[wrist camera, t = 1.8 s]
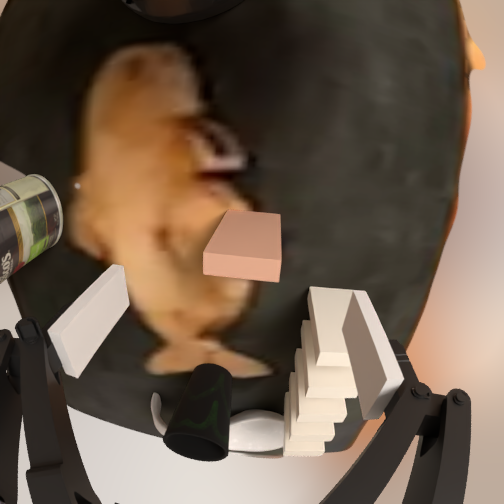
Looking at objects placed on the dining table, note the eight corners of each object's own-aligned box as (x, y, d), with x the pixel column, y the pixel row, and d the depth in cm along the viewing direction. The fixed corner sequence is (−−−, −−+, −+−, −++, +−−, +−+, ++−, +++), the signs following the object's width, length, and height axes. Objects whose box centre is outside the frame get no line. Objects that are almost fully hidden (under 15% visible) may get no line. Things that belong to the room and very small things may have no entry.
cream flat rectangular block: (285, 391, 38) (285, 450, 29) (319, 393, 37) (324, 451, 28) (284, 398, 38) (283, 455, 29) (317, 399, 38) (321, 456, 29)
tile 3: (296, 348, 34) (299, 414, 25) (335, 350, 34) (347, 414, 25) (294, 357, 35) (296, 421, 25) (332, 359, 34) (342, 422, 25)
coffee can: (76, 219, 29) (-8, 274, 16) (43, 260, 32) (-23, 315, 19) (36, 156, 26) (-53, 185, 13) (7, 205, 29) (-63, 243, 16)
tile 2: (302, 319, 32) (308, 386, 23) (344, 322, 32) (361, 387, 23) (300, 330, 33) (305, 397, 24) (341, 332, 32) (356, 397, 23)
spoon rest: (304, 402, 39) (305, 441, 32) (287, 437, 44) (287, 470, 37) (151, 377, 39) (135, 412, 33) (159, 415, 44) (148, 446, 38)
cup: (196, 393, 39) (178, 459, 29) (178, 359, 37) (151, 429, 26) (245, 391, 38) (236, 462, 27) (231, 356, 35) (216, 434, 24)
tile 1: (309, 286, 30) (320, 351, 21) (354, 289, 30) (378, 353, 21) (307, 298, 31) (315, 365, 22) (350, 302, 31) (371, 366, 22)
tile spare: (227, 209, 27) (203, 252, 18) (280, 214, 27) (281, 260, 18) (227, 225, 28) (203, 274, 19) (278, 230, 28) (278, 282, 19)
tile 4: (290, 371, 36) (291, 434, 27) (327, 373, 36) (334, 434, 26) (289, 379, 36) (288, 440, 27) (324, 381, 36) (331, 441, 27)
